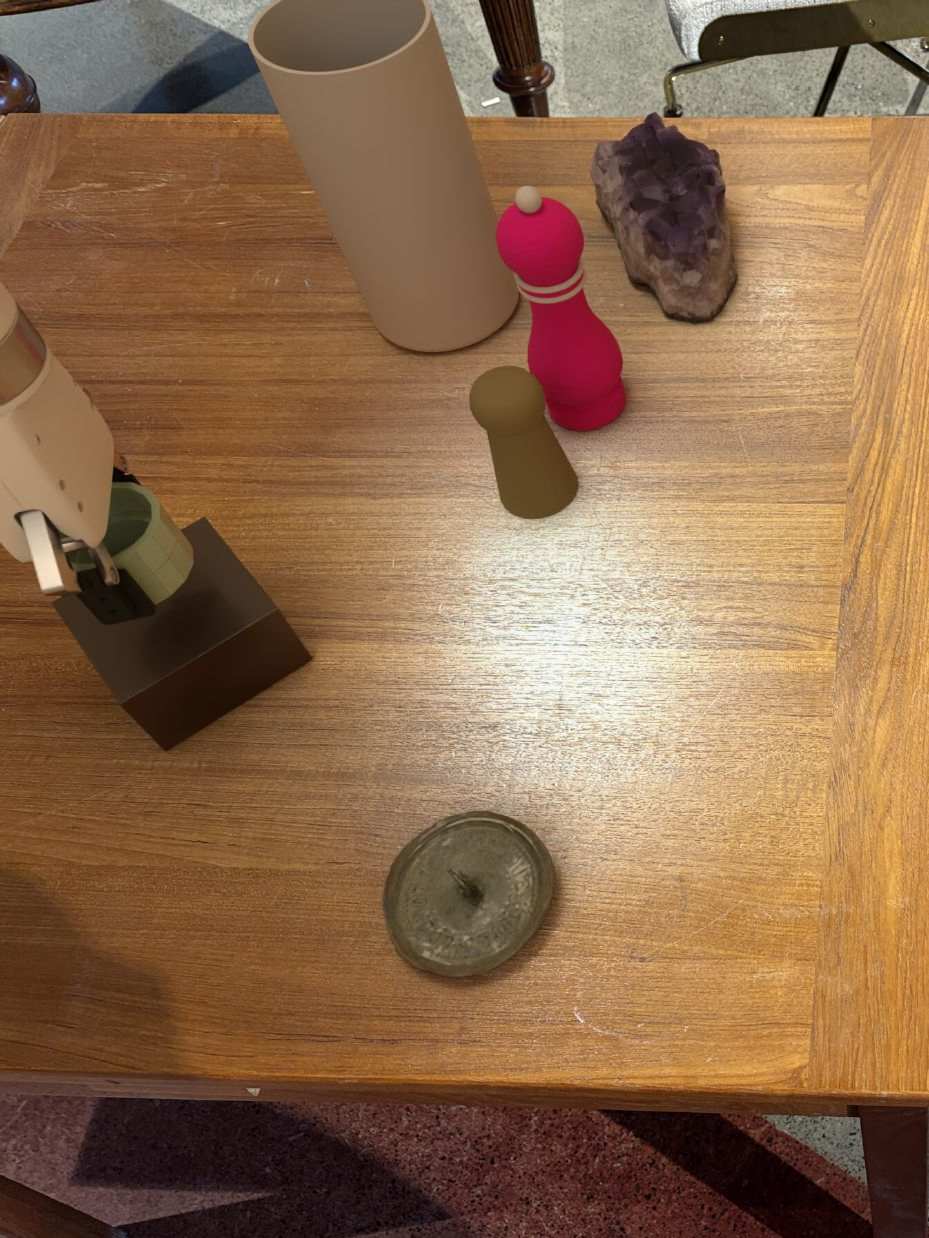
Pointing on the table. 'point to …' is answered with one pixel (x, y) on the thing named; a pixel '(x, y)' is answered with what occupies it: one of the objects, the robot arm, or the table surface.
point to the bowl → (142, 542)
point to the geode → (668, 217)
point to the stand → (191, 645)
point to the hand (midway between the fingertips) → (133, 567)
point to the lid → (467, 894)
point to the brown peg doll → (522, 443)
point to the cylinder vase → (390, 163)
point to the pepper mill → (561, 313)
